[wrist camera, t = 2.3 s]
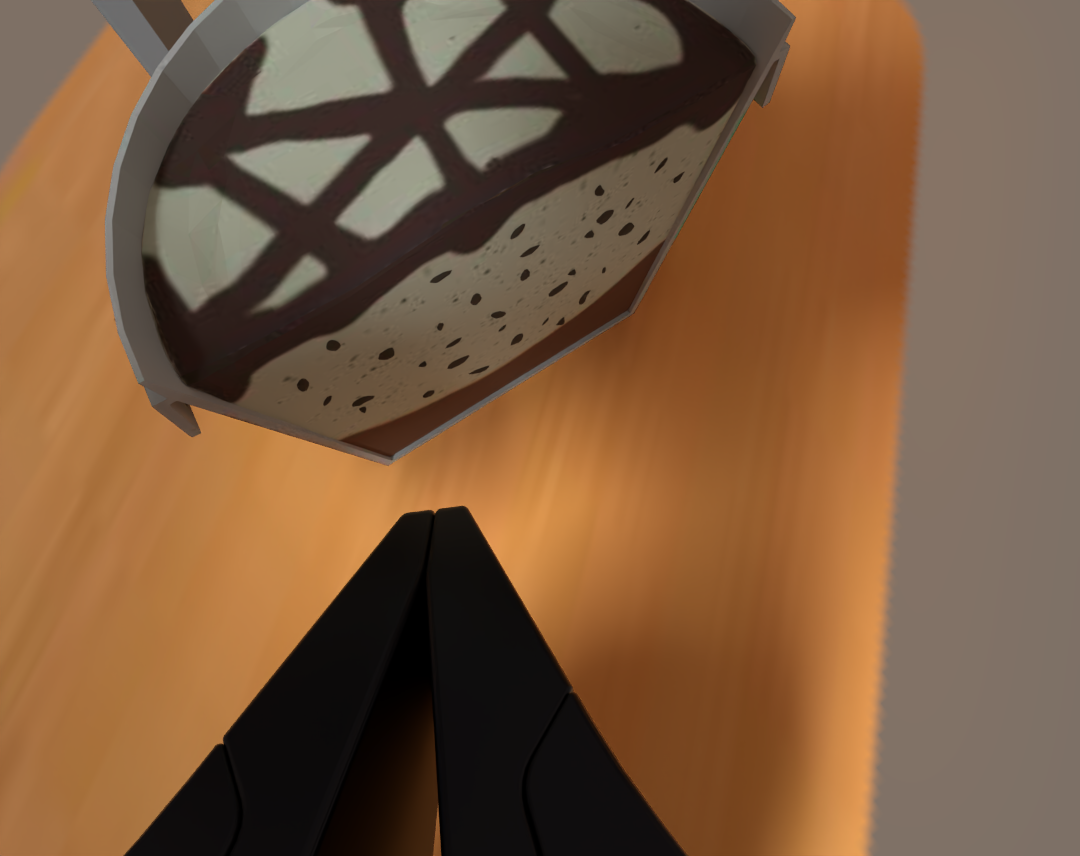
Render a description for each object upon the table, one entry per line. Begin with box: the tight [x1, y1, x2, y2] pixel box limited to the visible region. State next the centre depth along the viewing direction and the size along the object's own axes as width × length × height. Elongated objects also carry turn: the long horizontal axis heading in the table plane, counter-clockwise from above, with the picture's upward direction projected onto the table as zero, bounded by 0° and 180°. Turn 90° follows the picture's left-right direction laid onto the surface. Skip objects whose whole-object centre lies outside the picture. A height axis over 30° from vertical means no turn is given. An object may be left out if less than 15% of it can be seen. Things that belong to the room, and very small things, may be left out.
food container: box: [105, 0, 796, 466], centre depth 14 cm, size 12×6×10 cm, turn 123°
